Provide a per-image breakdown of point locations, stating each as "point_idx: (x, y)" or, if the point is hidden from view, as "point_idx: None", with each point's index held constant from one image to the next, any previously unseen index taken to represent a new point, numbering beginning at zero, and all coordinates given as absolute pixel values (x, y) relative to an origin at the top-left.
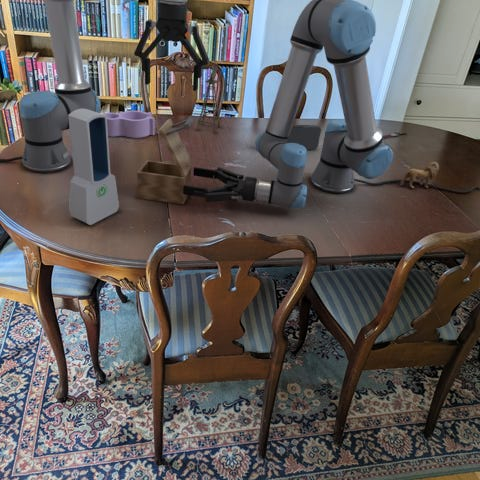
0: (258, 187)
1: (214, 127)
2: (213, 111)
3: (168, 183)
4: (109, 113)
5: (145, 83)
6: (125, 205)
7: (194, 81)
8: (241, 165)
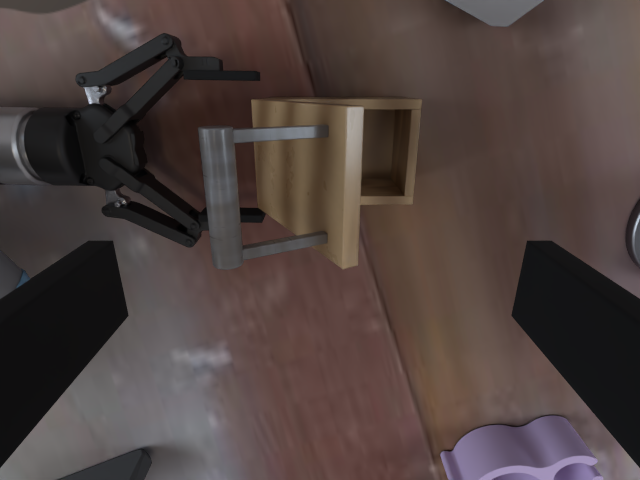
0: (13, 118)
1: None
2: None
3: (312, 98)
4: None
5: (552, 243)
6: (425, 40)
7: (50, 279)
8: (186, 361)
